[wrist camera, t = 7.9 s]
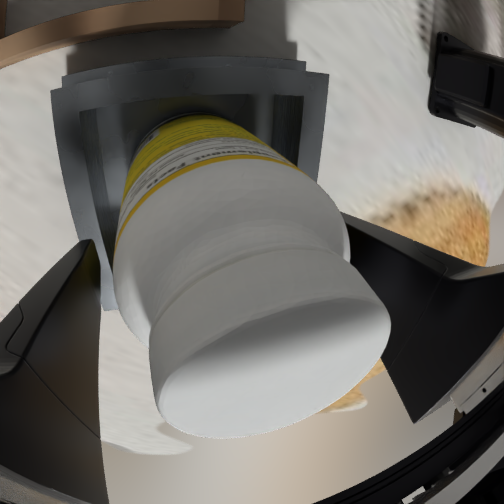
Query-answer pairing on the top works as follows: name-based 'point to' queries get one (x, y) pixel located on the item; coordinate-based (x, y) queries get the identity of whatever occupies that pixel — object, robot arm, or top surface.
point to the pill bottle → (239, 282)
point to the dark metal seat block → (163, 108)
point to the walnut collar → (116, 24)
